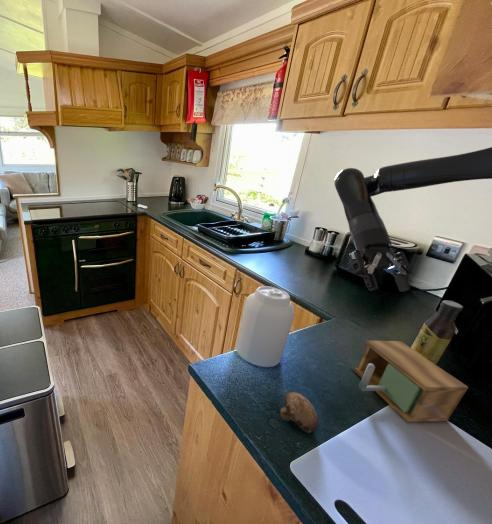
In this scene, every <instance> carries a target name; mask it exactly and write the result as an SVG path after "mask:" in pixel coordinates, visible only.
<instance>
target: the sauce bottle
mask: <svg viewBox="0 0 492 524" xmlns="http://www.w3.org/2000/svg"><path fill="white" fill-rule="evenodd" d="M463 308H464V306H463V305H461V304H460V303H458V302H455V301H453V300H442V301H441V302H440V306H439V308H438V310H437V312H436V313H434V314H433V315H432V316H431V317H429V318H428V319H427V320H426V321H424V322H423V325H422V327H421V328H420V330H419V331H418V333H417V336H416V338H415V339H414V340H413V341H414V342H413V343H412V345H411V347H410V348H412V349H413V350H415V351H416V352H418V353H419V354H421V355H422V356H423V357H425V358H426V359H428V360H429V361H431V362H432V363H434V364H435V365H437V364H438V362H439V360H440V359H441V357H442V356H443V354H444V352H445V350H447V348H448V345H449V344H450V342H451V341H452V338H453V336H454V334H455V332H456V329H457V328H456V323H455V321H456V320H457V317H458V315H459V314H460V313H461V312H462V310H463Z"/></svg>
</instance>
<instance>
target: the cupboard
mask: <svg viewBox="0 0 492 524" xmlns="http://www.w3.org/2000/svg"><path fill="white" fill-rule="evenodd" d="M365 345H366V346H367V347H366V349H365V351H364V354H363V356H362V358H361V361H360V363H359V365H358V367H354V369H353V372H354V373H355V374H356V375H358V376H359V378H361V379H362V377H363V375H364V372H365V370H366V368H367V366H368V364H373V365H374V366H375V369H374V372H373V374H372V376H371V378H370V380H369V382H368V385H378V384H379V382H380V380H381V378H382V376H383V374H384V372H385V370H386V367H387V365H388V363H390V364H392V365H393V366H394V367H395V368H397V369H398V370H399V371H400V372H402V373H403V374H404V375H405V376H407V377H408V378H409V379H410V380H412V381H413V382H414V383H415V384H417V385H418V386H419V387H421V388H420V390H419V392H418V394H417V396H416V398H415V399H414V401H413V403H412V405H411V407H410V409H409V410H408V412H407V413H405V412H404V411H403V410H402V409H401V408H399V407H398V406H397V405H396V404H395V403H394V402H393V401H392V400H391V399H390V398H389V397H388V396H387V395H385V394H384V393H383V392H382V391H375V393H376V394H377V395H379V396H380V398H382V399H383V400H384V401H385V402H386V403H387V404H388V405H389V406H390V407H391V408H392V409H393V410H394V411H396V413H398V414H399V415H400V416H401V417H402V418H403V419H404V420H405V421H406V422H408V423H409V422H411V423H412V422H415V423H416V422H448V421H449V420H450V418H451V416H452V415H453V413H454V411H455V410H456V408H457V407H458V405H459V403H460V402H461V400H462V398H463V397H464V395H465V394H466V392H467V391H468V389H469V387H468V385H466V384H465V383H464V382H461V381H460V380H459V379H457V378H456V377H455V376H454V375H451V374H450V373H449V372H447V371H445V370H444V369H443V368H441V367H440V366H438V365H437V364H434V363H432V362H431V361H429V360H428V359H426V358H425V357H423V356H422V355H421V354H419V353H418V352H416V351H415V350H413V349H412V348H411V347H410V346H409V345H407V344H406V343H404V342H403V341H401V340H366V341H365Z"/></svg>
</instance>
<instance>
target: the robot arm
mask: <svg viewBox="0 0 492 524" xmlns="http://www.w3.org/2000/svg"><path fill="white" fill-rule="evenodd" d="M477 180H492V146H490V147H487V148H483V149H479V150H475V151H470V152H469V151H468V152H464V153H460V154H455V155H454V154H453V155H447V156H442V157H441V156H440V157H434V158H427V159H420V160H413V161H408V162H407V161H406V162H402V163H396V164H391V165H386V166H382V167H380V168H379V169H377V171H376V173H375V174H372V175H370V176H365V175H364V173H363V172H362V171H361V170H359V169H358V168H355V167H348V168H344V169H342V170H341V171H340V172H338V173H337V174H336V176H335V178H334V181H333V182H334V188H335V190H336V192H337V195H338V197H339V200H340V201H341V204H342V206H343V210H344V215H345V217H346V221H347V225H348V229H349V233H350V236H351V239H352V242H353V246H354V248H355V250H354V251H352V252H350V253H349V254H348V257H349V261H350V265H351V269H352V273H353V274H354V275H358V276H361V278H363V280H364V284H365V287H366V288H367V289H368V291H370V292H374V291H377V290H379V284H378V282H377V279H376V277H375V274H374V271H375V270H383V271H385V272H386V273H387V274H388V273H389V274H391V275H392V276H393V277H394V281H395V283H396V286H397V289H398V291H399V292H400V293H406V292H407V291H410V290H411V286H410V283H409V280H408V278H407V275H410V274H412V273H413V270H412V269H413V268H412V267H411V264H410V263H409V260H408V259H407V257H406V255H405V252H403V251H400V252H397V253H394V252H393V251H392V250H391V246H392V244H393V242H392V239H391V237H390V235H389V232H388V230H387V228H386V225H385V223H384V220H383V219H382V217H381V215H380V213H379V211H378V208H377V206H376V204H375V202H374V200H373V199H372V197H374V196H378V195H381V194H383V193H390V192H398V191H406V190H407V191H408V190H414V189H419V188H425V187H432V186H438V185H444V184H449V183H456V182H464V181H465V182H466V181H477Z"/></svg>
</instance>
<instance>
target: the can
mask: <svg viewBox="0 0 492 524" xmlns="http://www.w3.org/2000/svg"><path fill="white" fill-rule="evenodd" d="M294 319H295V306H294V305H293V304H292V303H291V296H290V294H289V293H288V292H287V291H285V290H283V289H281V288H278V287H275V286H271V285H270V286H269V285H262V286H258V287H257V288H256V289H255V290H254V292H253V293H251V294H249V295H247V297H246V299H245V301H244V306H243V310H242V315H241V319H240V324H239V329H238V331H237V336H236V341H235V346H234V347H235V350H236V352H237V354H238V356H239V357H241V358H242V359H243V360H244V361H245V362H248V363H249V364H252V365H254V366H257V367H260V368H272V367H275V366H278V364H280V362H281V361H282V358H283V355H284V352H285V349H286V346H287V341H288V338H289V336H290V332H291V329H292V327H293V326H292V325H293V322H294Z"/></svg>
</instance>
